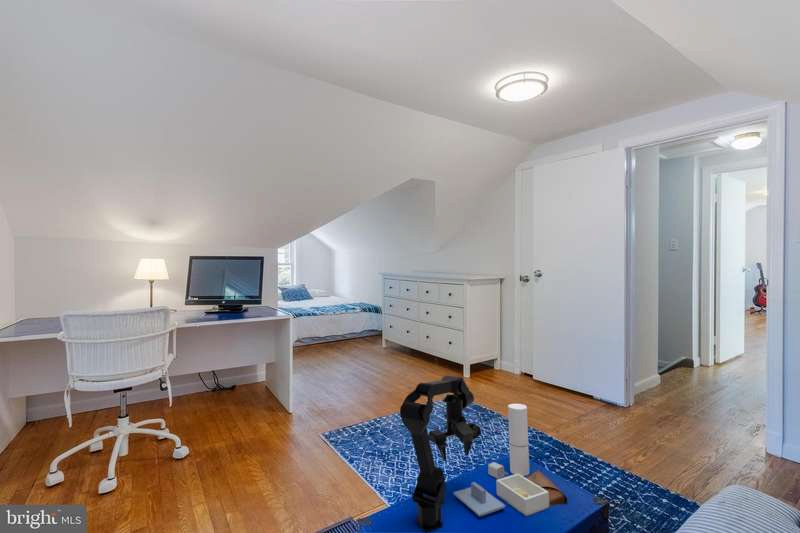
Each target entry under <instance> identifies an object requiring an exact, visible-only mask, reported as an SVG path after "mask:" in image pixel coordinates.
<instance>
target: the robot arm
mask: <svg viewBox="0 0 800 533" xmlns="http://www.w3.org/2000/svg"><path fill="white" fill-rule="evenodd" d="M464 379H465V378H464V377H460V376H452V375H445V376H442V378H441V379H440V380H435V381H428V382H419V383H417V385H416V387H415V389H414V390H413V391H411V392H410V393H409V394H407V396H405V399H404V401H403V402H402V404H401V406H400V408H399V416H400V418H401V419H400V420H401V421H402V424H403V426H404V427H405V429H407V431H409V433H410V435H411V439H412V443H413V448H414V452H415V456H416V459H417V464H418V469H419V474H418V475H417V478H416V482H417V483H416V485H415V488H414V490H413V493H412V496H411V498H412V502H413V503H416V504H417V517H416V518H415V523H416V524H417V525H418V526H419V527H420V528H421V530H422V531H424V533H425V532H426V533H428V532H429V531H432V530H436V529H438V528H441V527H444V523H443V522H442V506H443V505H444V504H445V498H446V490H447V485H446V478H445V475H444V470H443V468H440V467H437V466H436V464H435V459H434V455H433V451H432V447H431V442H432V443H433V444H435V446H436V447H437V449H438V451H439V454H440V456H441V458H442V461H443V462H446V461H447V453H446V449H447V448H446V447H447V445H448V443H447V438H452V437H456V438H457V439H458V441H459V442H460V443H463V449H464V455H465V456H466V457H468V456H469V453H470V451H471V447H472V444H473V442H474V441H475V440H476V439H478V438H479V436H482V429H481V427H480V426H479V425H478V424H476V423H474V422H468V423H467V422H466V416H464V412H463V410H464V409H466V408H467V407H469V406H471V405H472V404H473V403H474V401H475V396H474V394H473V392H472V391H470V388H469V386H467V383H466V382H465V380H464ZM448 393H451V394H448ZM443 394H446V396H445V397H444V398H443V402H444V403H445V412H446V413H444V416H443V417H444V418H445V419H446V425H444V430H446V431H442V430H440V429H435V430H430V431H428V429H427V428H428V425H429V423H430V421H431V418H430V416H431V414H432V412H433V409H434V401H433V399H434V397H436V396H440V395H443ZM421 397H427V401H426V403H425V404H424V403H419V402H417V401H418V400H419V399H420V398H421Z"/></svg>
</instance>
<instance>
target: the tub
mask: <svg viewBox="0 0 800 533" xmlns="http://www.w3.org/2000/svg"><path fill="white" fill-rule="evenodd" d="M526 478H527V477H525V476H522V475H520V474H511V475H507V476H505V477H502V478H500V479H496V483H495V484H496V485H495V486H496V495H497V496H498V497H500V499H502V500H503V501H504V502H506V503H507V504H509V505H510V506H511V507H513V508H514V509H515V510H517V511H518V512H520V513H521V514H523V515H524V516H525V517H528V516H531V515H533V514H536V513H539V512H541V511H544V510H548V509H550V505H549V492H548V491H546V490H545V489H543V488H541V487H540V486H538V485H536V484H535V483H533V482H531V481H530V480H528V479H526Z"/></svg>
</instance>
